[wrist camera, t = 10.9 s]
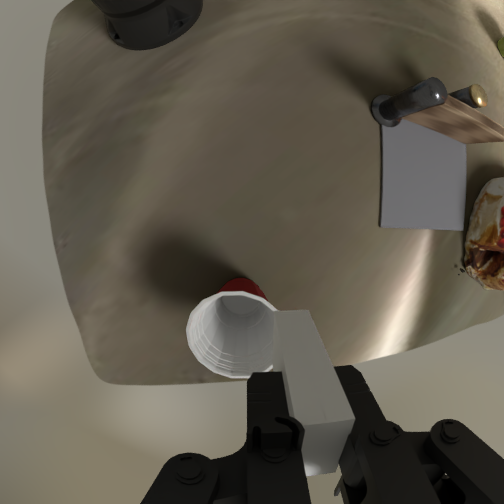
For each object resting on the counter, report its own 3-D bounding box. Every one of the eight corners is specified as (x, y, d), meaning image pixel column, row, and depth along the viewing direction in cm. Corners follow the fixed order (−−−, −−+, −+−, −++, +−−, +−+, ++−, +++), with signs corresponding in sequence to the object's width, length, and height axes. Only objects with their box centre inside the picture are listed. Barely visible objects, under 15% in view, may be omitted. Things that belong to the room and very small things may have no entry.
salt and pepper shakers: (369, 81, 33) (413, 49, 20) (443, 100, 33) (495, 85, 20) (371, 125, 34) (421, 106, 22) (446, 140, 35) (502, 134, 22)
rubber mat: (380, 110, 34) (381, 109, 34) (463, 130, 34) (464, 130, 34) (379, 226, 38) (380, 227, 38) (461, 230, 38) (463, 230, 38)
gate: (400, 118, 33) (444, 103, 23) (400, 109, 33) (444, 93, 22) (464, 144, 34) (510, 141, 23) (464, 136, 34) (510, 132, 23)
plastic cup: (204, 254, 39) (186, 285, 27) (283, 264, 39) (298, 299, 27) (198, 324, 41) (183, 373, 30) (271, 333, 42) (278, 384, 30)
